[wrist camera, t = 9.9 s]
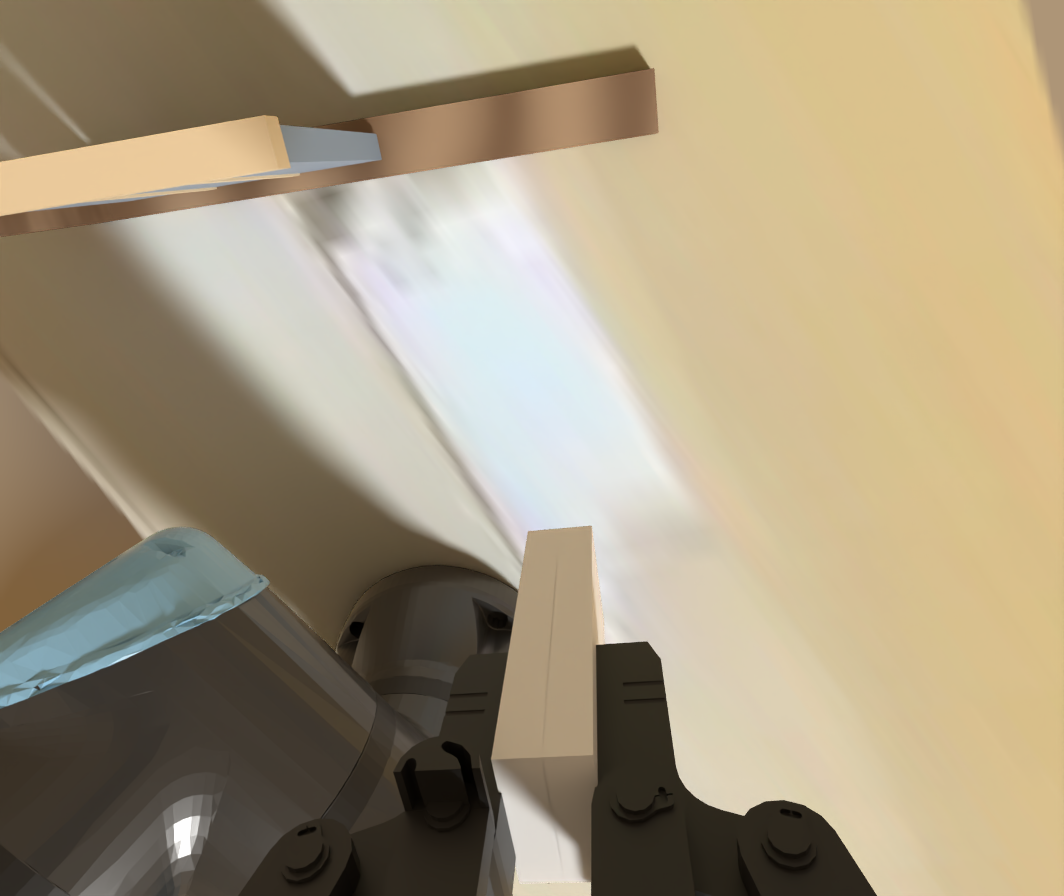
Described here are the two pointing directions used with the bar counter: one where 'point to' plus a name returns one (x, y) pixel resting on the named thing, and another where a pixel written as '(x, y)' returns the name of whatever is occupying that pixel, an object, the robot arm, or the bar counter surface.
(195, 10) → the bar counter surface
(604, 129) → the brown wooden rack
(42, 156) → the panel
